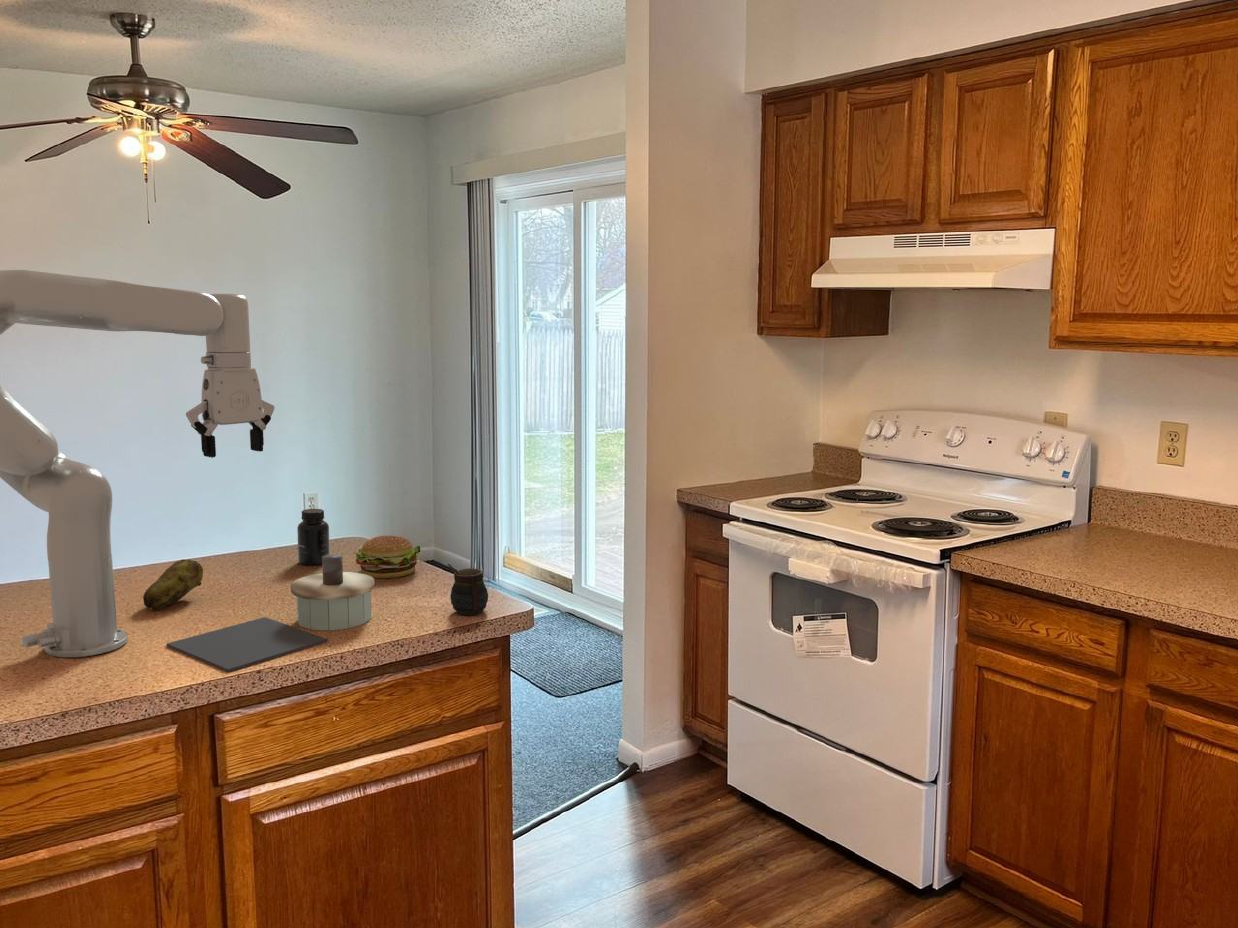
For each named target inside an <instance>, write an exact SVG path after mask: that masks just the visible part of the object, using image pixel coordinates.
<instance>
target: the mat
mask: <svg viewBox="0 0 1238 928" xmlns="http://www.w3.org/2000/svg"><path fill="white" fill-rule="evenodd" d="M328 640H329V639H328V638H327V637H323V636H320V635H318V634H315V633H312V632H309V631H306V630H303V629H301V628H297V627H294V626H292V625H289V624H287V623H284V622H280V621H277V620H274V619H272V618H269V617H266V616H264V617H260V618H256V619H253V620H249V621H245V622H241V623H237V624H234V625H231V626H226V627H222V628H219V629H216V630H212V631H207V632H204V633H200V634H197V635H193V636H190V637H185V638H182V639H178V640H175V641H171V642H168V643H166V647H167V648H171V649H172V650H175V651H177V652H180V653H181V654H184V655H186V656H188V657H192V658H194V659H195V660H198V661H201V662H203V663H205V664H208V665H210V666H212V667H215V668H217V669H219V670H222V671H225V672H227V673H230V672H234V671H238V670H241V669H243V668H247V667H249V666H253V665H257V664H260V663H263V662H266V661H269V660H273V659H276V658H279V657H281V656H282V657H284V656H285V655H290V654H292V653H296V652H298V651H303V650H306V649H309V648H312V647H316V646H317V645H318V646H319V645H321V644H324V643H327V642H329V641H328Z"/></svg>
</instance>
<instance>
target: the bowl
mask: <svg viewBox="0 0 1238 928" xmlns="http://www.w3.org/2000/svg"><path fill="white" fill-rule="evenodd" d="M296 611H297V612H296V613H297V614H296V615H297V616H296V617H297V623H298V626H300V627H303V628H305V629H308V630H311V631H313V630H314V631H338V630H339V631H340V630H347V629H351V628H356V627H359V626H361V625H364V624H366V623H367V622H368V621H370V620H371V619H372V590H371V591H370V592H368V593H365V594H362V595H359V596H355V597H350V598H344V599H335V600H313V599H305V598H300V597H297V596H296Z"/></svg>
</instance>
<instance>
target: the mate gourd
mask: <svg viewBox="0 0 1238 928" xmlns="http://www.w3.org/2000/svg"><path fill="white" fill-rule="evenodd" d="M447 566H448V567H449V568H450V569H451V570H452V571H453V572H454V573H453V579H454V582H453V584H452V587H451V590H450V591H451V592H450V595H449V596H450V603H451V606H452V609H453V610H454V611H456V613H458V614H459V615H462V616H476V615H479V614H481V613H482V612H484V610H485V609H486V607H487V604H488V600H489V593H488V589H487V586H486V584H485V583H484V582H485V581H484V571H483V570H482V569H480V568H475V567H467V568H461V569H455V568H454V567H453V566H452V565H451V563H447Z"/></svg>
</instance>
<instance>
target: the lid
mask: <svg viewBox="0 0 1238 928" xmlns="http://www.w3.org/2000/svg"><path fill="white" fill-rule="evenodd" d="M321 566H322V570H321V571H322V573H321V572H320V573H315V574H311V575H307V576H303V577H300V578H298V579H296V580H294V581H292V582H291V584H290V592H291V594H292V595H293V596H295V597H296V598H297V597H300V598H305V599H313V600H335V599H344V598H350V597H355V596H359V595H362V594H365V593H368V592H370V591H371V592H372V591H373V589H375V584H376V583H375V580H376V579H375V578H373V577H371V576H369V575H366V574H362V573H361V572H353V571H352V572H351V571H344V570H343V568H344V565H343V555H342V554H336V553H335V554H334V553H330V555H325V556H322V565H321Z"/></svg>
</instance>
